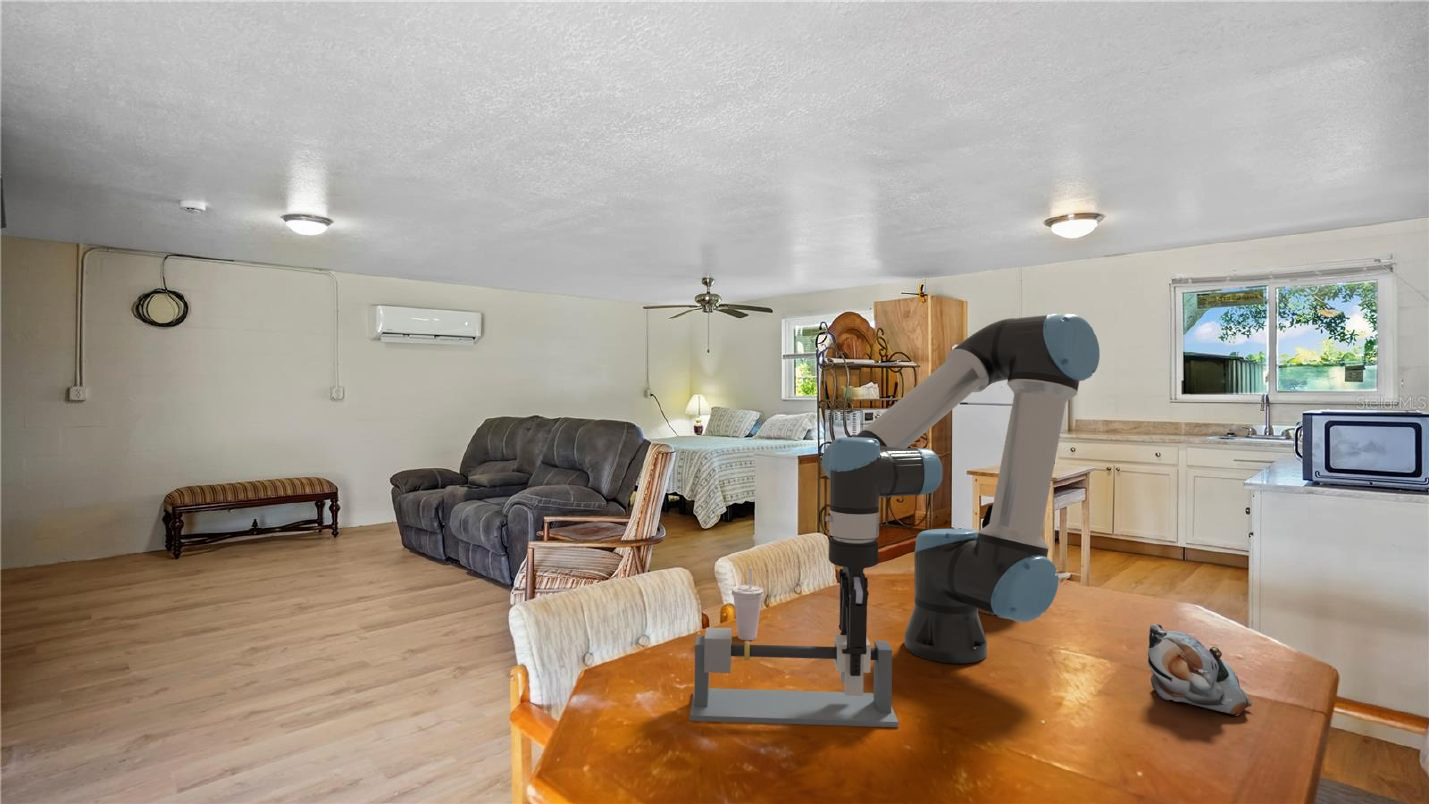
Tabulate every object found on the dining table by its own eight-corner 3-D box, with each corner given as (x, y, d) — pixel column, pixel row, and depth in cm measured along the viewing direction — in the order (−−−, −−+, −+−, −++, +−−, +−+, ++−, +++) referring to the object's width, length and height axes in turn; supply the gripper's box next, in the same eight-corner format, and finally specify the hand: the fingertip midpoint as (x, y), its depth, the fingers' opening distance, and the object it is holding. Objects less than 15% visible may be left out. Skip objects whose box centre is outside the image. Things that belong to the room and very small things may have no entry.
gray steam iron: (1270, 720, 111) (1252, 649, 107) (1191, 745, 113) (1170, 676, 109) (1208, 656, 125) (1190, 592, 122) (1138, 679, 127) (1118, 617, 123)
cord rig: (885, 698, 118) (886, 627, 117) (898, 727, 108) (899, 649, 107) (694, 692, 119) (695, 622, 119) (689, 720, 109) (690, 644, 109)
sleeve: (865, 662, 115) (866, 635, 115) (870, 672, 111) (870, 645, 111) (834, 661, 115) (834, 634, 115) (837, 671, 111) (837, 644, 111)
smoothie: (760, 644, 142) (761, 572, 142) (728, 641, 143) (729, 570, 143) (765, 633, 148) (765, 564, 148) (734, 630, 150) (734, 562, 149)
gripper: (823, 526, 121) (821, 665, 122) (835, 550, 104) (833, 712, 104) (868, 527, 121) (866, 667, 121) (888, 551, 104) (886, 713, 104)
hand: (851, 687), depth 113 cm, fingers closed on sleeve, 4 cm apart
